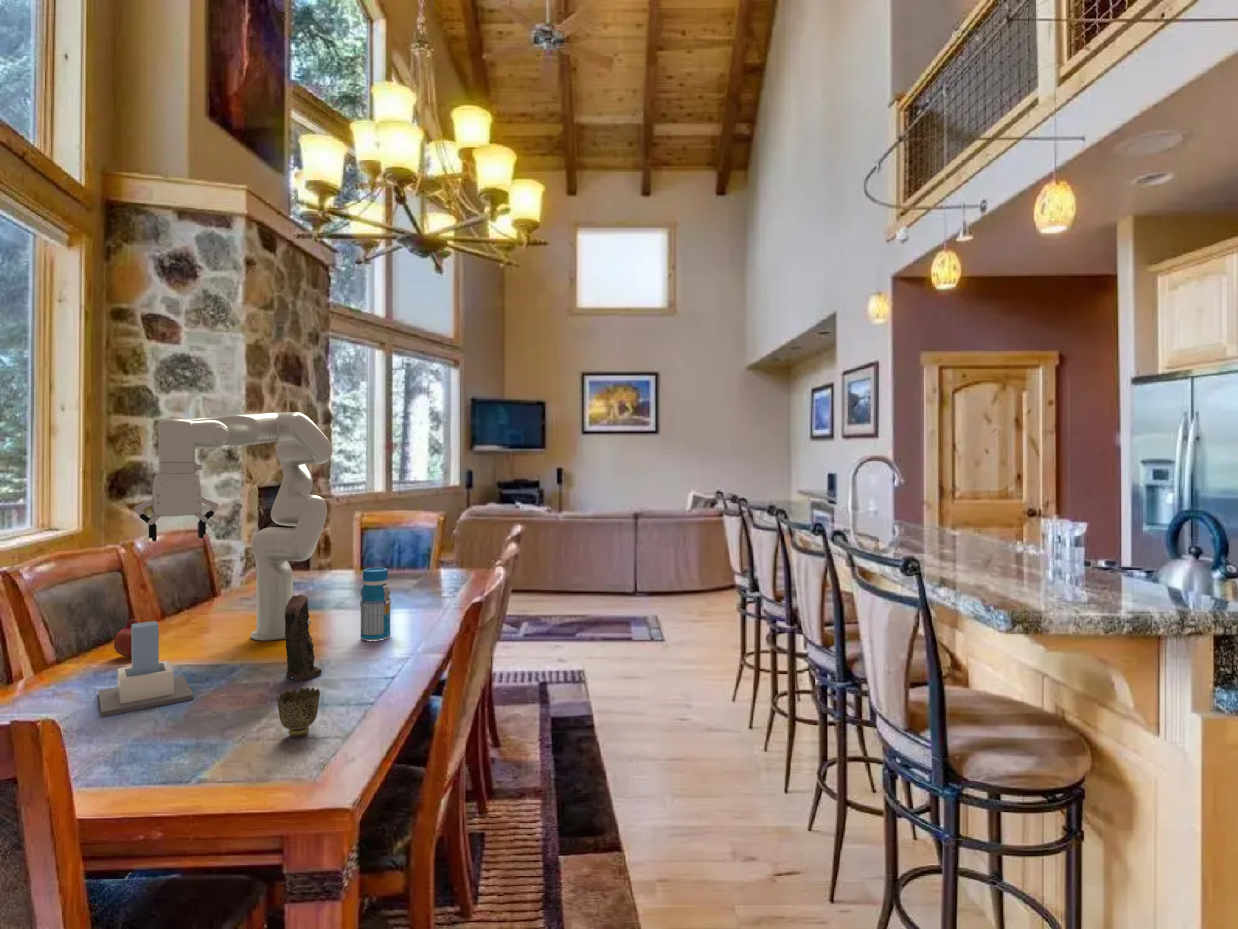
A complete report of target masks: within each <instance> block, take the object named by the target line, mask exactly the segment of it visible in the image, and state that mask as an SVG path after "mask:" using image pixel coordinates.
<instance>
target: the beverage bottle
mask: <svg viewBox="0 0 1238 929" xmlns="http://www.w3.org/2000/svg"><path fill="white" fill-rule="evenodd" d="M388 575H389V571H388V568H386V567H368V568H365V569H363V571H362V580H363V582H364V584H363V586H362V588H361V590H360V596H361V598H360V600H359V606H360V609H359V611H360V639H361V640H362V639H363V640H362V641H364V640H372V641H371V642H374V641H373V640H380V639H385V638H387V639H389V638H390V637H391V604H392V598H391V597H390V595H391V588H390V587H389V584H387V582H386V581H388V578H389V576H388ZM385 640H386V639H385Z"/></svg>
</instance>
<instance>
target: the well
mask: <svg viewBox="0 0 1238 929" xmlns="http://www.w3.org/2000/svg"><path fill="white" fill-rule="evenodd" d="M174 673H175V672H174V669H173V667H172V666H171V662H170V661H169V660H163V661H159V672H156V673H150V674H144V675H138V676H132V665H131V666H126V667H119V668H117V687H110V688H106V689H105V688H104V689H100V690H99V689H98V691H97V692H98V700H99V702H98V703H99V710H100V715H101V716H100V717H101V718H102V717H103V718H104V717H108V716H113V715H119V714H122V713H123V712H125V713H129V711H130V712H134V711H139V710H145V709H149V708H150V707H151V708H155V707H154V706H156V707H160V706H159V705H161V706H166V705H170V704H175V703H181V701H182V702H185V701H186V700H187V701H191V699H192V700H194V692H193V691H192V689H191V687H190V685H189V683H188V681H187V678H186V677H185V675H179V676H175V677H174ZM187 701H186V702H187Z"/></svg>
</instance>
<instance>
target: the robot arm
mask: <svg viewBox="0 0 1238 929" xmlns="http://www.w3.org/2000/svg"><path fill="white" fill-rule="evenodd" d="M275 442H277V443H276V447H275V448H276V449H275V452H276V456H277V459H278V461H279V463H280V464H279V465H280V467H281V468H282V475H283V477H282V481H281V485H280V487H279V489H278V491H277V492H278V493H277V495H276V497H275V499H274V502H273V504H272V507H271V509H270V510H271V511H270V518H271V520H272V522H274V523H275V524H277V525H280V526H283V527H280V526H279V527H278V526H277V527H275V526H273V527H272V526H271V527H265V528H262V529H260V530H258V531H257V532H256V534H254V536H253V539H252V541H251V542H252V544H251V547H252V554H253V557H254V561H255V571H256V629H255V630H254V631H252V632H251V633H250V638H251V639H252V640H253V641H254V640H255V641H277V640H285V610H286V606H287V604H288V602H289V600H290V599H291V598H292V596H294V574H293V569H292V567H291V565H290V563H289V562H303V561H307V560H309V559H310V558H311V557H312V556H313V554H314V552H315V550H316V548H317V546H318V543H319V540H320V536H321V535H322V532H323V529H324V527H325V523H326V521H327V516H328V507H327V503H326V501H325V500H324V498H323V497H321V496H319V495H315V494H311V492H312V489H313V484H314V481H313V477H312V475H311V472H310V470H309V468H308V467H307V465H323V464H325V463H328V462H329V461H330V460H331V459H332V456H333V447H332V443H331V441H330V439H328V437H327V436H326V435H325V434H324V433H323V431H321V429H320V428H319V427H318V426H317V424H316V423H315V422H313V420H311V419H310V417H308V416H307V415H306V414H304V413H302V412H297V411H296V412H291V411H290V412H288V411H287V412H283V411H282V412H263V413H261V412H260V413H248V414H247V413H246V414H233V415H227V416H217V417H204V418H203V417H202V418H188V419H185V418H165V419H162V420H160V421H159V423H158V475H154V478H153V485H152V494H151V495H152V496H151V499H149V500H147V501H144V502H142V503H140V504H137V505H136V506H134V508H133V509H134V511H135V512H136V514H137V516H138V517H139V518H140V519H141V520H142V521H144V522H145V523H146V524H147V525H148V538H149V539H151V541H152V542H157V538H158V537H157V532H158V531H157V530H158V529H157V524H156V522H157V521H158V520H159V519H160V518H161V517H182V516H183V517H185V516H195V517H197V518H198V519H199V520H198V522H197V537H198V538H199V539H204V536H206V535H207V522H208V521H209V519H210V518H212V516H214V515H215V512H216V511H217V509H218V508H219V503H217V502H214V501H212V500H210V499H206V498H205V497H203V494H202V488H201V487H202V486H201V480H200V477H199V474H196V473H197V471H202V470H203V464H198V463H196V450H214V449H216V450H217V449H219V448H221V447H223V446H231V447H237V446H238V447H241V446H243V447H244V446H252V445H259V444H268V443H275ZM203 504H204V505H207V506H209V510H207V512H206V513H205V514H204V513H203V512H202V510H203ZM150 507H151V512H152V515H151V516H150V517H149V516H148V515H146V514H145V512H144V509H146V508H150ZM284 526H285V527H284ZM311 622H312V621H311V618H310V617H309V620H308V624H309V626H310V625H311Z"/></svg>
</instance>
